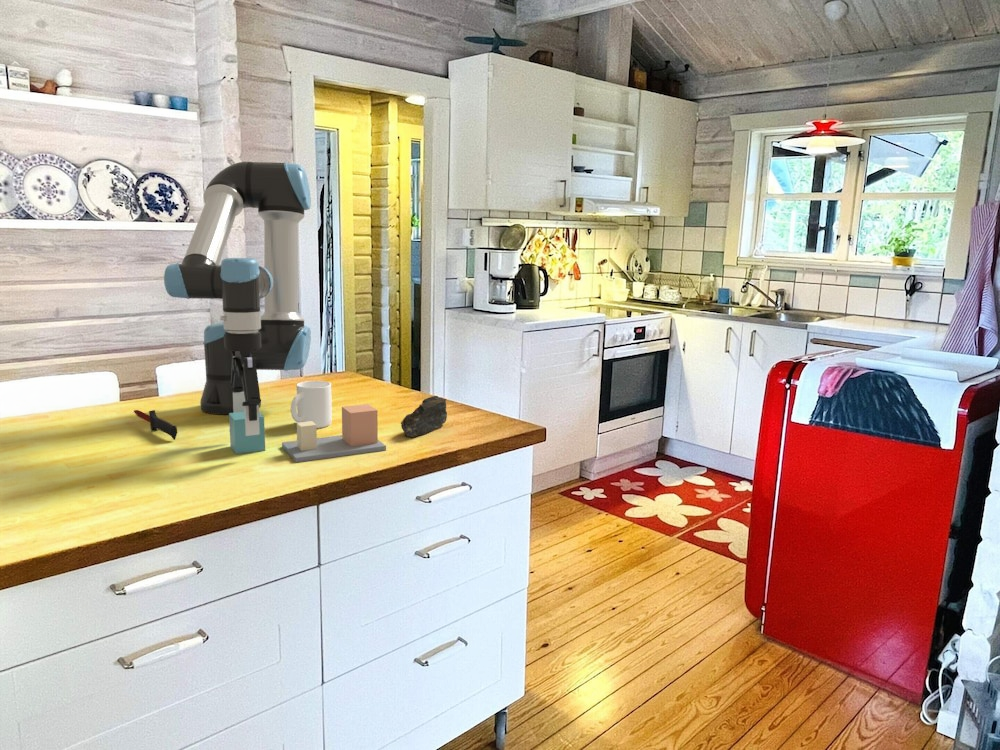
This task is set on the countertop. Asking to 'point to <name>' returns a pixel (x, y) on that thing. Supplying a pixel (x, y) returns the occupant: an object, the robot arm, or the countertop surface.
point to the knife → (158, 423)
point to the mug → (313, 403)
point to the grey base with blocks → (354, 438)
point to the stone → (425, 417)
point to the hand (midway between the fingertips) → (246, 427)
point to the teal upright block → (238, 434)
